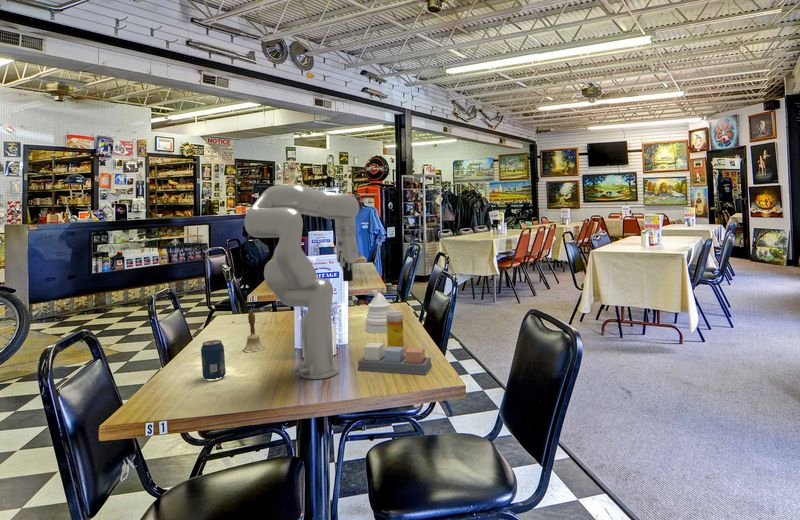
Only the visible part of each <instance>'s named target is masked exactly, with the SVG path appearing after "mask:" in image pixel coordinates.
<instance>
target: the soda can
mask: <svg viewBox="0 0 800 520" xmlns="http://www.w3.org/2000/svg"><path fill="white" fill-rule="evenodd" d="M224 347H225V346H224V344H223V343H222V340H219V339H212V340H207V341H203V342H202V346H201V347H200V356H201V357H200V358H201V368H202V377H203V379H204V378H205V379H216V378H220V377H223V376H224V375H225V376H226V374H227V373H226V372H227V370H226V359H225V348H224ZM225 376H224V377H225ZM205 379H204V380H205Z"/></svg>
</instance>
